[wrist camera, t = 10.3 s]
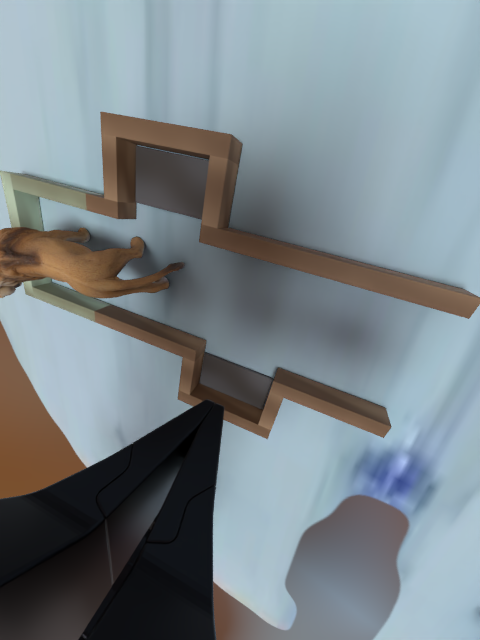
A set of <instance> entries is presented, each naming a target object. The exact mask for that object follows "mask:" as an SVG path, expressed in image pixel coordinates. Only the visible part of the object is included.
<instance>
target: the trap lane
mask: <svg viewBox="0 0 480 640" xmlns="http://www.w3.org/2000/svg"><path fill="white" fill-rule="evenodd" d="M100 113H101V135H102V157H103V179H104V195H102V194H99V193H95V192H91V191H87V190H83V189H80V188H76V187H72V186H68V185H64V184H61V183H57V182H53V181H49V180H45V179H41V178H38V177H34V176H30V175H26V174H20V173H13V172H6V171H0V175H1V180H2V184H3V189H4V194H5V198H6V203H7V208H8V213H9V217H10V222H11V227H12V228H14V227H27V228H30V229H36V230H38V231H44V229H43V223H42V217H41V210H40V204H39V197H42V198H46V199H49V200H53V201H56V202H60V203H63V204H67V205H70V206H74V207H77V208H81V209H84V210H88V211H91V212H95V213H98V214H102V215H105V216H109V217H113V218H116V219H136V202H137V203H141V204H144V205H148V206H152V207H156V208H160V209H164V210H167V211H171V212H175V213H179V214H183V215H187V216H190V217H194V218H198V219H202V223H201V231H200V239H199V242H201V243H204V244H208V245H211V246H215V247H218V248H222V249H225V250H229V251H232V252H236V253H239V254H243V255H246V256H250V257H253V258H257V259H260V260H264V261H268V262H271V263H275V264H278V265H282V266H285V267H289V268H292V269H296V270H299V271H303V272H306V273H310V274H313V275H317V276H320V277H324V278H327V279H331V280H334V281H338V282H341V283H345V284H349V285H352V286H356V287H359V288H363V289H366V290H370V291H373V292H377V293H380V294H384V295H387V296H391V297H394V298H398V299H401V300H405V301H408V302H412V303H415V304H419V305H423V306H426V307H430V308H433V309H437V310H440V311H444V312H447V313H451V314H454V315H458V316H461V317H465V318H468V319H469V318H470V317H471V315H472V314H473V313H474V311H475V310H476V309H477V307H478V306H479V304H480V297H478V296H476V295H474V294H472V293H470V292H468V291H466V290H464V289H461V288H457V287H453V286H449V285H445V284H442V283H438V282H434V281H430V280H426V279H422V278H419V277H415V276H411V275H407V274H403V273H400V272H396V271H392V270H388V269H384V268H381V267H377V266H373V265H369V264H365V263H362V262H358V261H354V260H350V259H346V258H342V257H339V256H335V255H331V254H327V253H323V252H320V251H316V250H312V249H308V248H304V247H301V246H297V245H293V244H289V243H285V242H281V241H278V240H274V239H270V238H266V237H262V236H259V235H255V234H251V233H247V232H243V231H240V230H236V229H232V228H228V225H229V219H230V213H231V207H232V202H233V196H234V190H235V184H236V178H237V173H238V167H239V161H240V155H241V149H242V143H241V142H240V141H239V140H237V139H236V138H235V137H234V136H233V135H232V134H226V133H220V132H214V131H209V130H203V129H197V128H192V127H186V126H180V125H174V124H169V123H163V122H157V121H151V120H146V119H140V118H134V117H129V116H123V115H117V114H111V113H106V112H100ZM137 145H141V146H146V147H151V148H156V149H161V150H165V151H170V152H175V153H180V154H185V155H190V156H195V157H200V158H205V159H209V161H208V160H203V159H198V158H193V157H188V156H184V155H179V154H174V153H169V152H164V151H159V150H154V149H149V148H144V147H139V146H137ZM38 196H39V197H38ZM23 283H24V288H25V293H26V294H27V295H29V296H32V297H34V298H37V299H39V300H42V301H44V302H47V303H49V304H52V305H54V306H57V307H59V308H62V309H64V310H67V311H69V312H71V313H74V314H76V315H79V316H81V317H84V318H86V319H89V320H91V321H94V322H96V323H99V324H101V325H104V326H106V327H109V328H111V329H114V330H116V331H119V332H121V333H124V334H126V335H129V336H131V337H134V338H136V339H139V340H141V341H144V342H146V343H149V344H151V345H154V346H156V347H159V348H161V349H164V350H166V351H169V352H171V353H174V354H176V355H179V356H181V357H183V359H182V367H181V376H180V384H179V392H178V400H181V401H183V402H185V403H187V404H190V405H192V406H196V405H197V404H199V403H201V402H202V401H204V400H206V399H209V400H211V401H213V402H215V404H216V403H218V404H220V405H223V406H224V407H225V409H224V418H223V420H226V421H228V422H230V423H232V424H235V425H237V426H239V427H241V428H244V429H246V430H248V431H250V432H253V433H255V434H257V435H259V436H262V437H264V438H266V439H268V436H269V434H270V431H271V429H272V426H273V423H274V421H275V418H276V416H277V413H278V411H279V408H280V405H281V403H282V400H283V398H286V399H288V400H291V401H293V402H296V403H298V404H301V405H303V406H306V407H308V408H311V409H313V410H316V411H318V412H321V413H323V414H326V415H328V416H331V417H333V418H336V419H338V420H341V421H343V422H346V423H348V424H351V425H353V426H356V427H358V428H361V429H363V430H366V431H368V432H371V433H373V434H376V435H378V436H380V437H383V438H384V437H385V435H386V434H387V432H388V431H389V430H390V428H391V424H390V421H389V417H388V414H387V411H386V408H384V407H382V406H379V405H376V404H374V403H371V402H368V401H366V400H363V399H360V398H358V397H355V396H352V395H350V394H347V393H344V392H342V391H339V390H336V389H334V388H331V387H329V386H326V385H323V384H321V383H318V382H315V381H313V380H310V379H307V378H305V377H302V376H299V375H297V374H294V373H291V372H289V371H286V370H283V369H281V368H278V369H277V372H276V375H275V377H274V380H273V378H271V377H268V376H266V375H263V374H260V373H258V372H255V371H253V370H250V369H247V368H245V367H242V366H240V365H237V364H235V363H232V362H229V361H227V360H224V359H222V358H219V357H217V356H214V355H211V354H209V353H206V352H205V346H206V340H204V339H201V338H198V337H196V336H193V335H190V334H188V333H185V332H182V331H180V330H177V329H174V328H172V327H169V326H166V325H164V324H161V323H158V322H156V321H153V320H150V319H148V318H145V317H142V316H140V315H137V314H135V313H132V312H129V311H127V310H124V309H121V308H119V307H116V306H113V305H111V304H108V303H105V302H103V301H100V300H97V299H95V298H92V297H88V296H85V295H83V294H81V293H79V292H76V291H73V290H71V289H68V288H65V287H63V286H60V285H57V284H55V283H52V281H51V278H49V277H46V278H44V279H40V280H33V281H26V282H23ZM204 352H205V354H204ZM203 358H204V360H203ZM202 364H203V366H202ZM201 370H202V371H201ZM200 376H201V377H200ZM272 380H273V383H272ZM199 382H200V383H199ZM271 383H272V386H271ZM270 386H271V389H270V392H269V395H268V398H267V400H266V397H267V394H268V391H269V388H270ZM265 400H266V403H265ZM264 403H265V406H264ZM263 406H264V409H263Z"/></svg>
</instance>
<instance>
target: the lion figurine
mask: <svg viewBox="0 0 480 640" xmlns="http://www.w3.org/2000/svg"><path fill="white" fill-rule="evenodd" d="M89 239H90V234H89V232H88V231H87V230H86V229H85V228H80V229H79V230H78V232H73V231H62V230H52V231H49V232H47V231H38V230H36V229H30V228H27V227H14V228H4V229H2V230H0V298H3V297H5V296H7V295H11V294H12V293H14V291H15V290H16V289H15V288H17V287H19V286H21V284H22V282H26V281H33V280H40V279H44V278H46V277H49V278H52V279H55V280H58V281H62V282H67V283H68V284H69V285H70V286H71V287H72V288H73V289H75V290H76V291H78V292H79V293H81V294H83V295H85V296H88V297H94V298H113V297H119V296H123V295H127V294H132V293H139V292H148V293H155V292H158V291H160V290H163V289H167V288H168V287H169V281H168V279H167V278H165V277H164V276H166V275H167V274H169V273H171V272H173V271H179V270H180V269H182V268H183V267H184V263H183V262H178V263H174V264H170V265H168V266H167V267H166V268H164V269H163V270H161V271H159V272H157V273H155V274H152V275H149V276H146V277H142V278H138V279H132V280H122V279H119V278H118V277H117V275H118V273H119V272H120V271H121V270H122V269H123V267H124V266H125V265H126V264H127V262H128V261H129V260H131V259H134V258H141V257H142V255H143V251H144V242H143V241H142V239H141V238H139V237H134V238H132V239H131V242H130V243H131V248H130V249H121V248H112V249H106V250H103V251H94V252H92V251H91V250H90V249H89V248H87V247H85V246H83V245H81V244H78V243H75V242H79V243H85V242H87V241H89ZM152 282H155V283H152Z"/></svg>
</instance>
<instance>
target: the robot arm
mask: <svg viewBox="0 0 480 640" xmlns="http://www.w3.org/2000/svg"><path fill="white" fill-rule="evenodd" d="M224 409H225V407H224V406H223V405H220V404H218V403H216V404H215V402H213V401H211V400H209V399H206V400H204V401H202V402H201V403H199V404H197V405H196V406H194V407H192V408H190V409H189V410H187V411H185V412H184V413H182V414H180V415H179V416H177V417H175V418H174V419H172V420H170V421H169V422H167V423H165V424H164V425H162V426H160V427H159V428H157V429H155V430H154V431H152V432H150V433H149V434H147V435H145V436H144V437H142V438H140V439H139V440H137V441H135V442H134V443H133V444H130V445H129V446H127V447H125V448H124V449H122V450H120V451H118V452H117V453H115V454H113V455H111V456H109V457H108V458H106V459H104V460H102V461H100V462H98V463H96V464H94V465H92V466H90V467H88V468H86V469H84V470H82V471H80V472H78V473H75V474H74V475H71V476H69V477H67V478H65V479H63V480H61V481H59V482H57V483H55V484H53V485H50V486H48V487H46V488H44V489H41V490H38V491H36V492H33V493H30V494H26V495H22V496H16V497H9V498H3V499H0V640H216V632H215V621H214V606H213V605H214V604H213V511H214V499H215V490H216V487H215V486H216V480H217V471H218V462H219V454H220V445H221V436H222V427H223V418H224Z"/></svg>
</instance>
